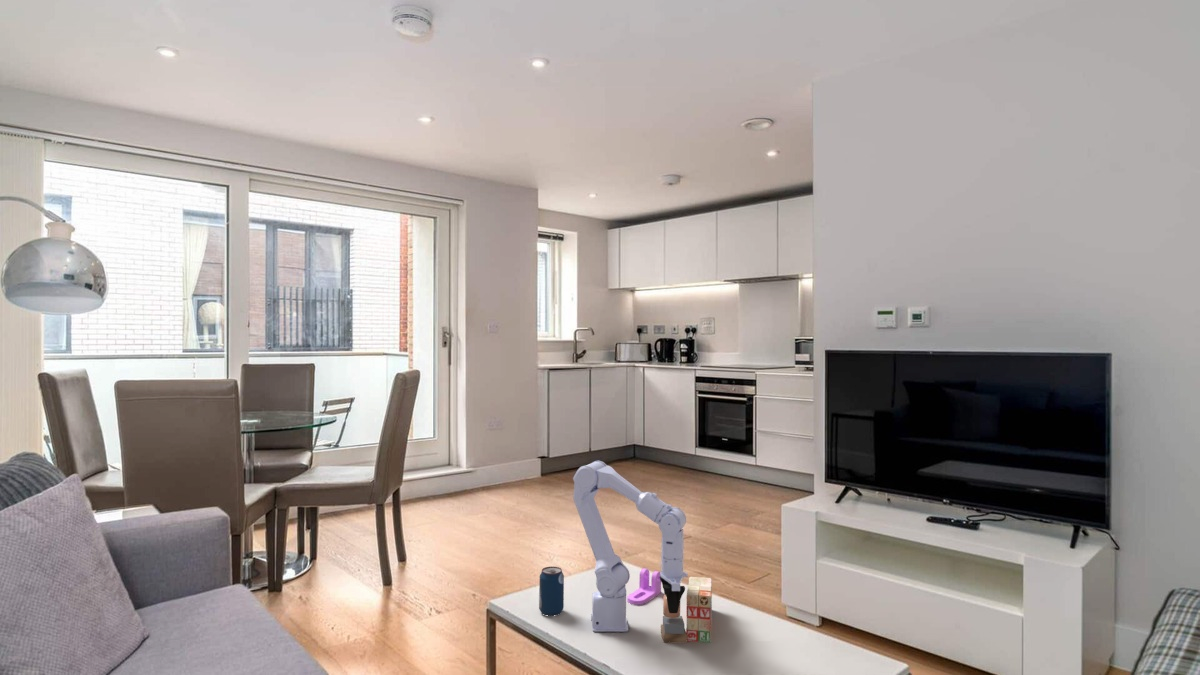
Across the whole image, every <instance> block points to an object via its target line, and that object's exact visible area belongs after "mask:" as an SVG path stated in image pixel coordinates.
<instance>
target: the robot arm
mask: <svg viewBox="0 0 1200 675" xmlns="http://www.w3.org/2000/svg"><path fill="white" fill-rule="evenodd" d="M572 480H573V482H574V483H573V485H574V486H573V501H574V504H575V507H576V510H577V513H578V515H579V519H580V521H581V523H582V527H583V528H584V529H583V530H584V532H585V534H586V537H587V540H588V542H589V546H590V548H591V550H592V554H593V556H594V558H595V568H594V574H595V577H596V579H595V580H596V582H595V584H596V589H597V590H598V591H596V592H595V591H594V592H592V598H591V599H592V602H591V603H592V605H591V606H592V608H591V610H592V612H591V614H590V621H591V623H592V625H591V626H592V631H593V632H596V633H598V632H599V633H602V632H604V633H605V632H611V633H612V632H616V633H617V632H629V626H628V625H629V624H628V620H627V619H628V618H627V588H626V585H627V583H629V580H630V577H631V576H630V575H631V574H630V570H629V568H628V567H627V566H626V565H625V563H624V562H623V561H622V558H621V556H619V555H618V554H616V552H615V551H614V548H613V546H612V542H611V541H610V537H609V535H608V533H607V529H606V527H605V524H604V522H603V519H602V516H601V514H600V511H599V508H598V506H597V503H596V500H595V497H596V495H597V494H598V491H599V489H609V488H610V489H612V490H614V491H616V492H617V493H619V494H620V495H622V496H623V497H624V498H626V499H629V501H631V502H633V503H634V504H635V506H636V510H637V511H638V512H640V513H641V514H643V515H644V516H645V517H647V518H648V519H649V520H651V521H653V523H655V524H656V525H658V528H659V530H660V532H661V548H660V549H661V551H660V554H661V562H660V566H661V567H660V580H661V586H662V589H663V593H664V595H666V597H667V604H668V610H669V613H677V612H678V609H679V604H680V605H681V601H682V600H681V599H682V597H683V595H684V593H685V591H686V587H685V585H681V583H682V582H683V579H684V578H689V577H688V575H689V574H688V572H686V571H684V529H683V528H684V527H685V525H686V522H687V517H686V515H685V512H684V511H683V510H681V508H680V507H677V506H674V507H673V505H672V504H670V503H666V502H664V501H663V500H662V499H660V498H659V497H658V494H657V493H656V492H650V491H646V492H642V491H641V490H640V489H639V488H637V487H636V486H634V485H633V484H632V483H631V482H630V481H628V480H627V479H625V478H624V477H623V476H622V475H620V474H619V473H618V472H617V471H616V470H615V469H614V468H613V467H612V466H610V465H607V464H606V463H605V462H604V461H601V460H595V461H592V462H591V463H589V464H587V465H582V466H580V467H579V468H578V469H577V470H576V472H575V473H574V475H573V477H572Z"/></svg>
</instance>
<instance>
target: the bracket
mask: <svg viewBox="0 0 1200 675" xmlns="http://www.w3.org/2000/svg"><path fill="white" fill-rule="evenodd" d="M660 573H661V571H658V570H654V571H653V573H652V574H651V583H650V570H649V569H648V568H642V569H641V570H640V571H639V582H638V584H639V588H638V589H636V590H634V591H633V592H632V593H630V594H628V595H626V603H628V604H629V603H630V605H632V604H634V606H642V605H645V604H646V603H648V602H650V601H651V600H652V599H654V598H656V597H657V596H658V595H659V593H660V594H661V593H662V582H661V580H660ZM650 584H651V585H650ZM656 595H657V596H656ZM653 597H654V598H653ZM650 599H651V600H650ZM647 601H648V602H647ZM644 603H645V604H644ZM641 604H642V605H641Z"/></svg>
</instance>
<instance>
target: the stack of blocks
mask: <svg viewBox="0 0 1200 675" xmlns="http://www.w3.org/2000/svg"><path fill="white" fill-rule="evenodd" d="M712 586H713V584H712V577H702V576H701V577H699V576H690V577H688V585H687V590H686V629H685V631H686V633H687V642H697V643H699V642H700V643H709V644H710V643H711V638H712V618H713V616H712V615H713V614H712V613H713V610H712V608H713V604H712V602H713V601H712V597H713V594H712V590H713V589H712Z"/></svg>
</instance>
